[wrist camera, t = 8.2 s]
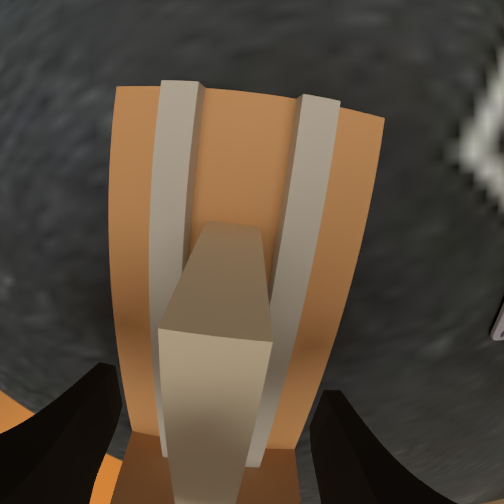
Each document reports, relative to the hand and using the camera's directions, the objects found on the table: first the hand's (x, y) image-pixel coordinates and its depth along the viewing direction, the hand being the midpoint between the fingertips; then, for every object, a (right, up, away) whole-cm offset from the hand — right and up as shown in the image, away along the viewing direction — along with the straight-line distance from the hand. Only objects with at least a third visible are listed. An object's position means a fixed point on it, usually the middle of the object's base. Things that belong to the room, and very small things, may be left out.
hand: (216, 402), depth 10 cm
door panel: (0, +2, +4) cm, 4 cm away
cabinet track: (0, +2, +5) cm, 5 cm away
